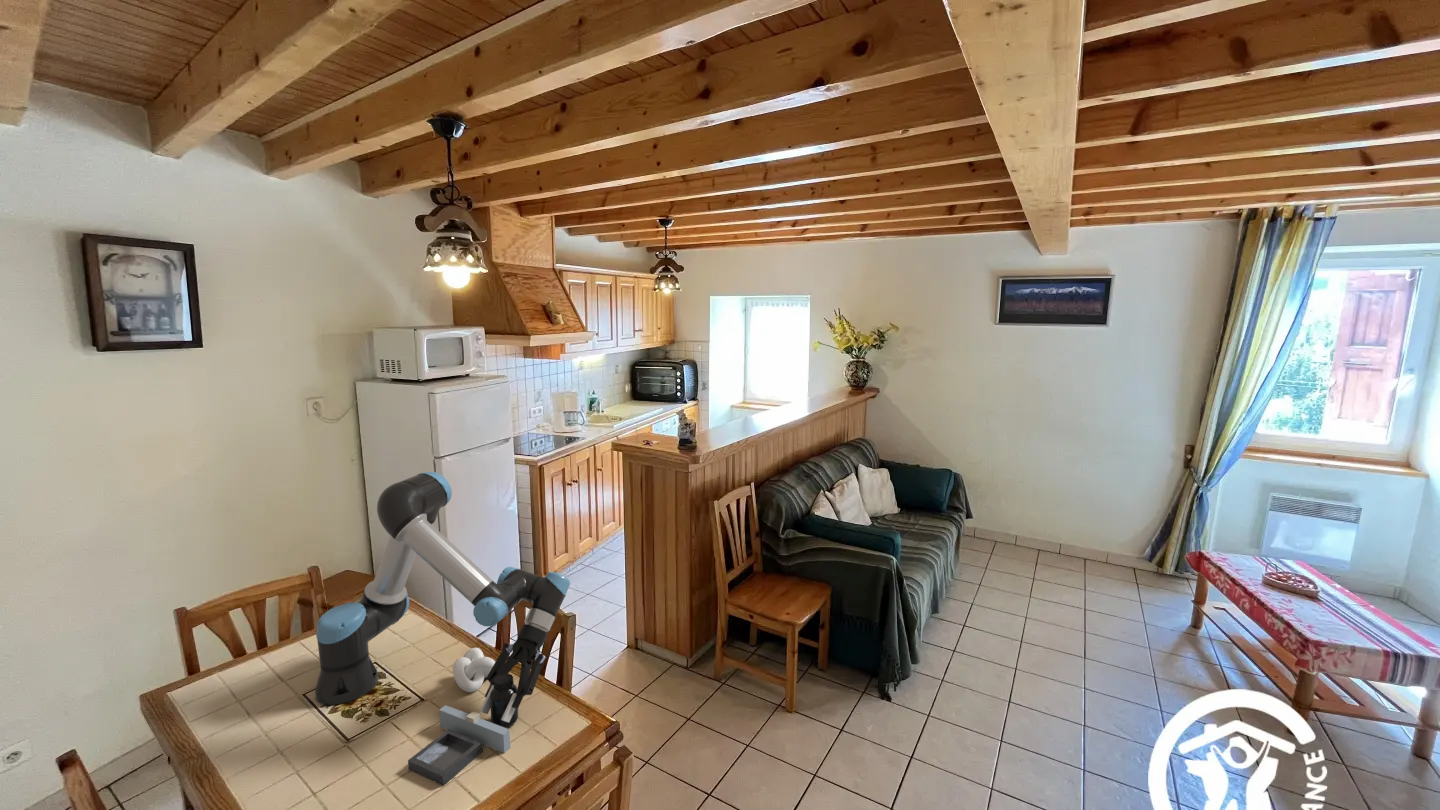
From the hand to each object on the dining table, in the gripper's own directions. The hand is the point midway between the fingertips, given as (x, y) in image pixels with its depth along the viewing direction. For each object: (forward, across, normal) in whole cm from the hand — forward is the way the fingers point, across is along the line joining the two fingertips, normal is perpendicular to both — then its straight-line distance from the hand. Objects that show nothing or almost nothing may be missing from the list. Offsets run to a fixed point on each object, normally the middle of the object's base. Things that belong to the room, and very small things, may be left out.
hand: (494, 716), depth 146 cm
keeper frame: (+12, +3, +6) cm, 13 cm away
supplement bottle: (0, 0, -5) cm, 5 cm away
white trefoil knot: (-6, +20, -12) cm, 24 cm away
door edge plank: (+6, +3, 0) cm, 6 cm away
